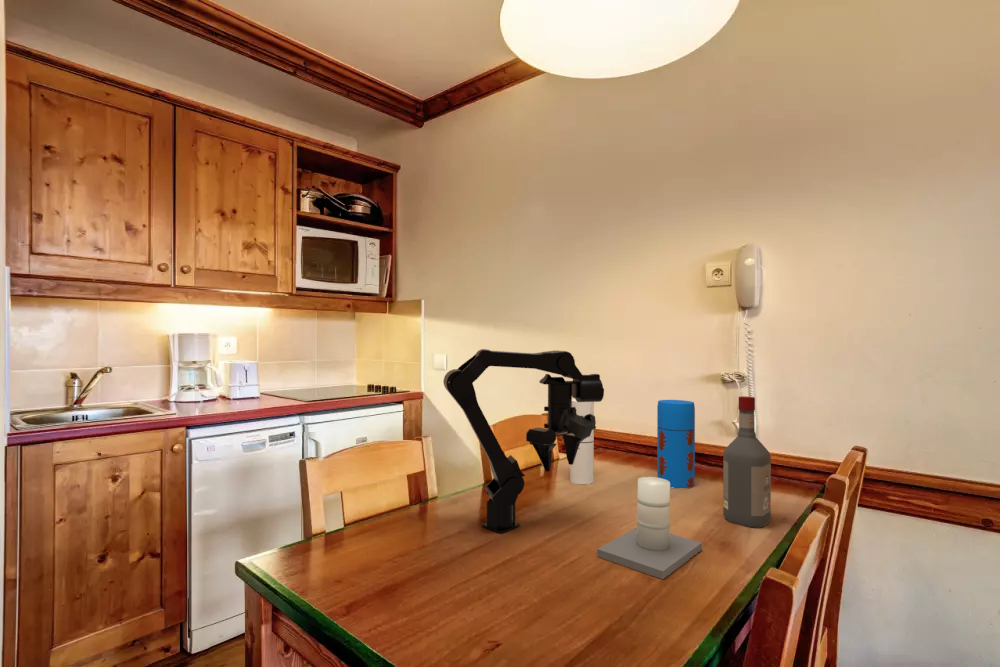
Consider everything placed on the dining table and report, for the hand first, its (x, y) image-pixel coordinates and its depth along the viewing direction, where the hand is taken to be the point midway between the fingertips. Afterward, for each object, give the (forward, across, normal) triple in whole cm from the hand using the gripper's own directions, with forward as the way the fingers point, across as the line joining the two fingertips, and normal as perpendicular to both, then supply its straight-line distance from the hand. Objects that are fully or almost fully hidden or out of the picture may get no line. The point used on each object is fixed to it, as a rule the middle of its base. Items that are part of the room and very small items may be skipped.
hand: (559, 467), depth 120 cm
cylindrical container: (+13, +33, +16) cm, 39 cm away
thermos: (+13, +51, -6) cm, 53 cm away
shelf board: (+13, -1, -24) cm, 27 cm away
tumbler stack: (+12, 0, -24) cm, 27 cm away
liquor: (+13, +33, -32) cm, 48 cm away
